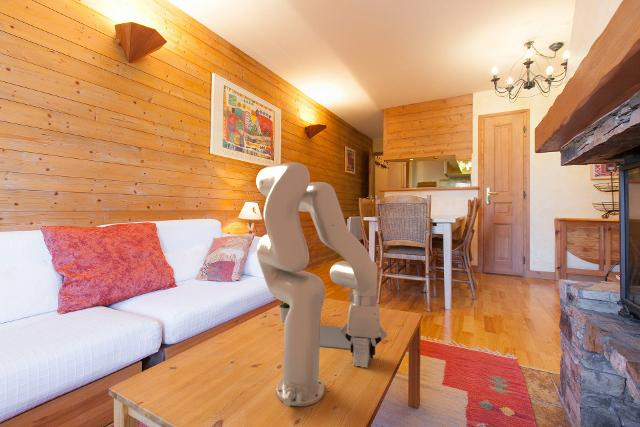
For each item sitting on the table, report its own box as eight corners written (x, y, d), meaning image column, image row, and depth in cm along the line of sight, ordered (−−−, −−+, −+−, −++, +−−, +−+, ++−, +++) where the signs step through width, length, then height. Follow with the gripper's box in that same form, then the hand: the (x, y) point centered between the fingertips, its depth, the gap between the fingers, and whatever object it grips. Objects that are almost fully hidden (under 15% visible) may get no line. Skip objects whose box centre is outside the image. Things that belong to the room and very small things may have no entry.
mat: (359, 350, 101) (359, 349, 101) (297, 344, 104) (297, 343, 104) (360, 329, 119) (360, 328, 119) (307, 324, 122) (307, 323, 122)
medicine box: (367, 369, 89) (368, 340, 89) (352, 366, 91) (353, 338, 91) (371, 357, 97) (372, 330, 97) (357, 354, 98) (358, 328, 98)
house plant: (302, 328, 118) (303, 288, 118) (268, 327, 118) (269, 287, 118) (304, 315, 132) (305, 279, 132) (274, 314, 133) (275, 278, 133)
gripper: (336, 300, 91) (334, 358, 91) (392, 305, 89) (390, 364, 89) (338, 294, 99) (337, 347, 99) (390, 297, 96) (388, 353, 96)
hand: (362, 355), depth 94 cm, fingers closed on medicine box, 5 cm apart
